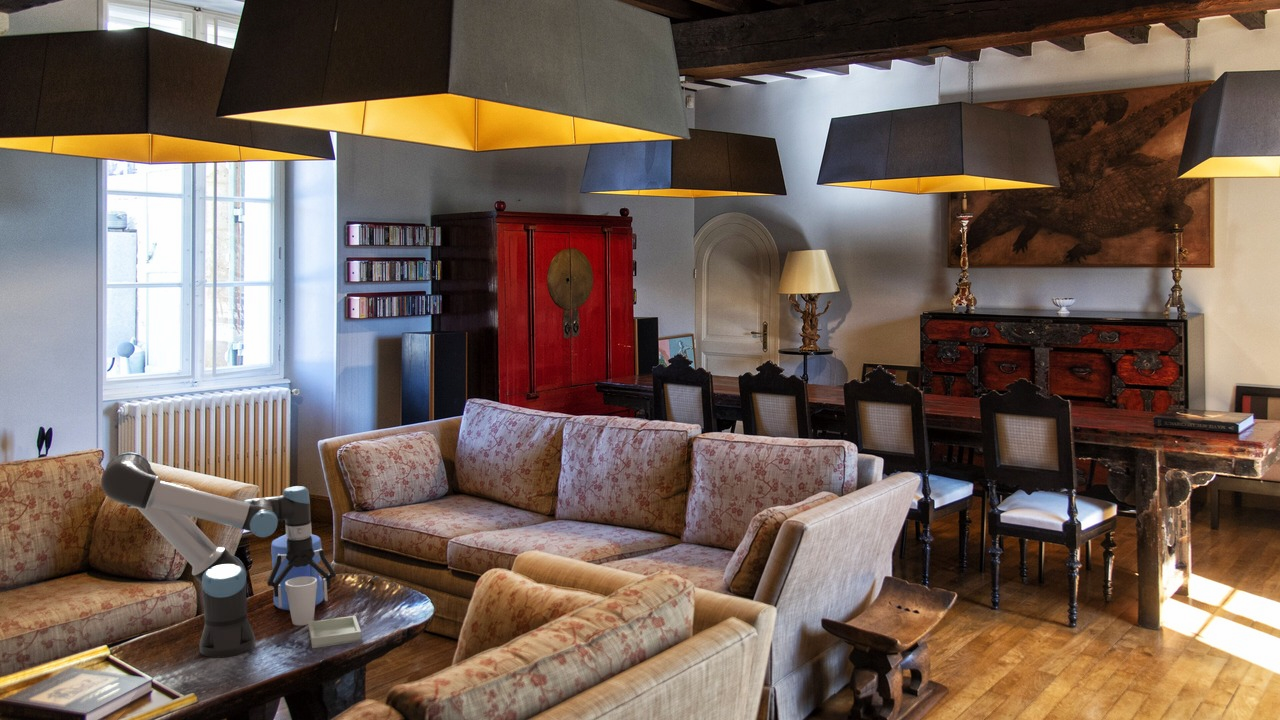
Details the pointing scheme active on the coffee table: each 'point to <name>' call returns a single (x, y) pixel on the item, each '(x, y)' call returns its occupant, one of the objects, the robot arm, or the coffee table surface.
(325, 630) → the tray
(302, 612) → the foam cup
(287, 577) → the water jug
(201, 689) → the coffee table surface
